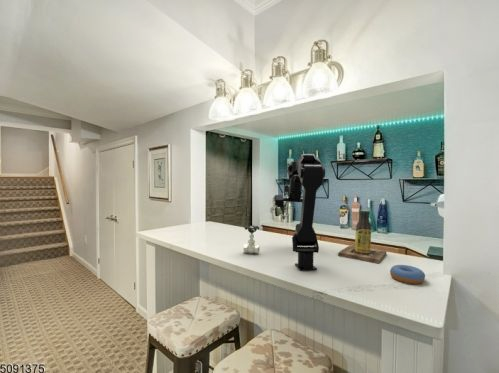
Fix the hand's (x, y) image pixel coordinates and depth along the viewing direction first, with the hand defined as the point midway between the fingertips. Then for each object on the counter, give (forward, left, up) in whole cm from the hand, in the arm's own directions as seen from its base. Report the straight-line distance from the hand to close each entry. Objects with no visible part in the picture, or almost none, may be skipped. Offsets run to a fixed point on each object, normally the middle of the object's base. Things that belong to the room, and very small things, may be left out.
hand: (292, 215), depth 125 cm
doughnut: (-44, -25, -16) cm, 53 cm away
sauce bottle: (-17, -26, -16) cm, 35 cm away
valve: (-9, +22, -16) cm, 28 cm away
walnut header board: (-17, -26, -16) cm, 35 cm away
